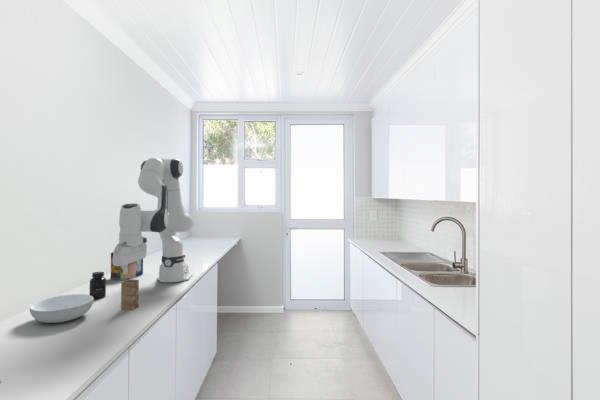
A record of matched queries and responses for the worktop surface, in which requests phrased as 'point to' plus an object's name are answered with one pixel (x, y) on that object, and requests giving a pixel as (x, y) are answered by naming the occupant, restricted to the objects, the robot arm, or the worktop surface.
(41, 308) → the serving bowl
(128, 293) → the block middle
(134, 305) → the block bottom
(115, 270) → the protein box
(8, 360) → the worktop surface
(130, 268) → the cylinder
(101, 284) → the supplement bottle
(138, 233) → the robot arm
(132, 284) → the block top
